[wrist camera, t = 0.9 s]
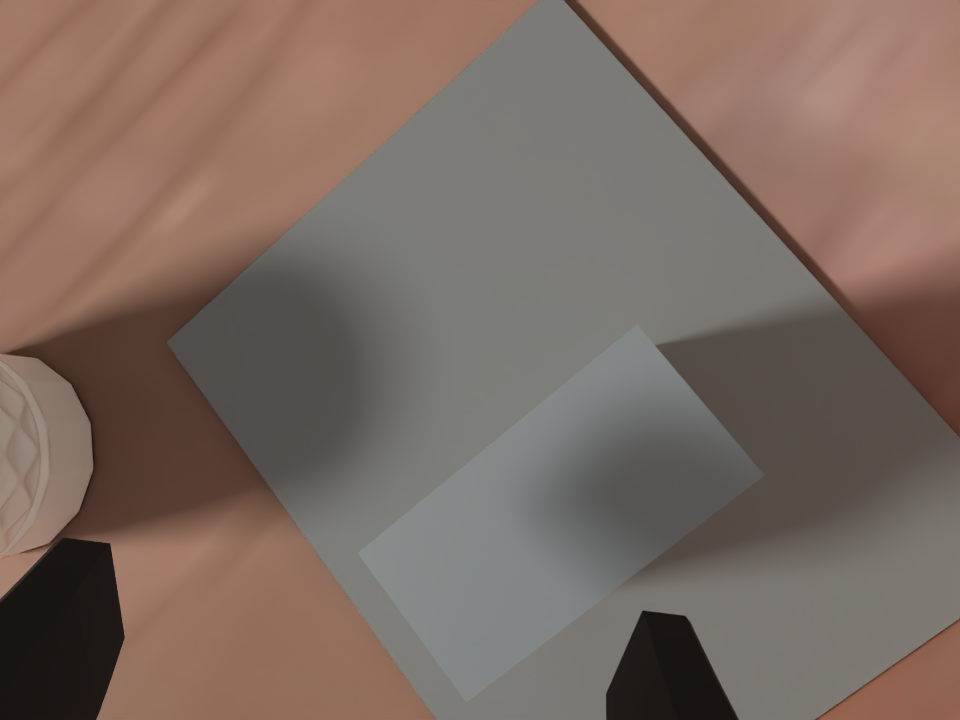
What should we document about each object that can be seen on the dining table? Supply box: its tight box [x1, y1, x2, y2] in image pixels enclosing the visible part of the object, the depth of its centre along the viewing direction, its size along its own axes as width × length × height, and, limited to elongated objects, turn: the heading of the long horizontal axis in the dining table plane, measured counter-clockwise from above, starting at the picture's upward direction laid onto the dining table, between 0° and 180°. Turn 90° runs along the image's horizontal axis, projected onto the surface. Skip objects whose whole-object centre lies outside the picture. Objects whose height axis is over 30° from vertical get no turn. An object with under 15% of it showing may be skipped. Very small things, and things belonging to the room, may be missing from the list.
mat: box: [166, 0, 960, 720], centre depth 24 cm, size 20×16×1 cm
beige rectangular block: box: [358, 325, 764, 702], centre depth 19 cm, size 4×7×8 cm, turn 129°
